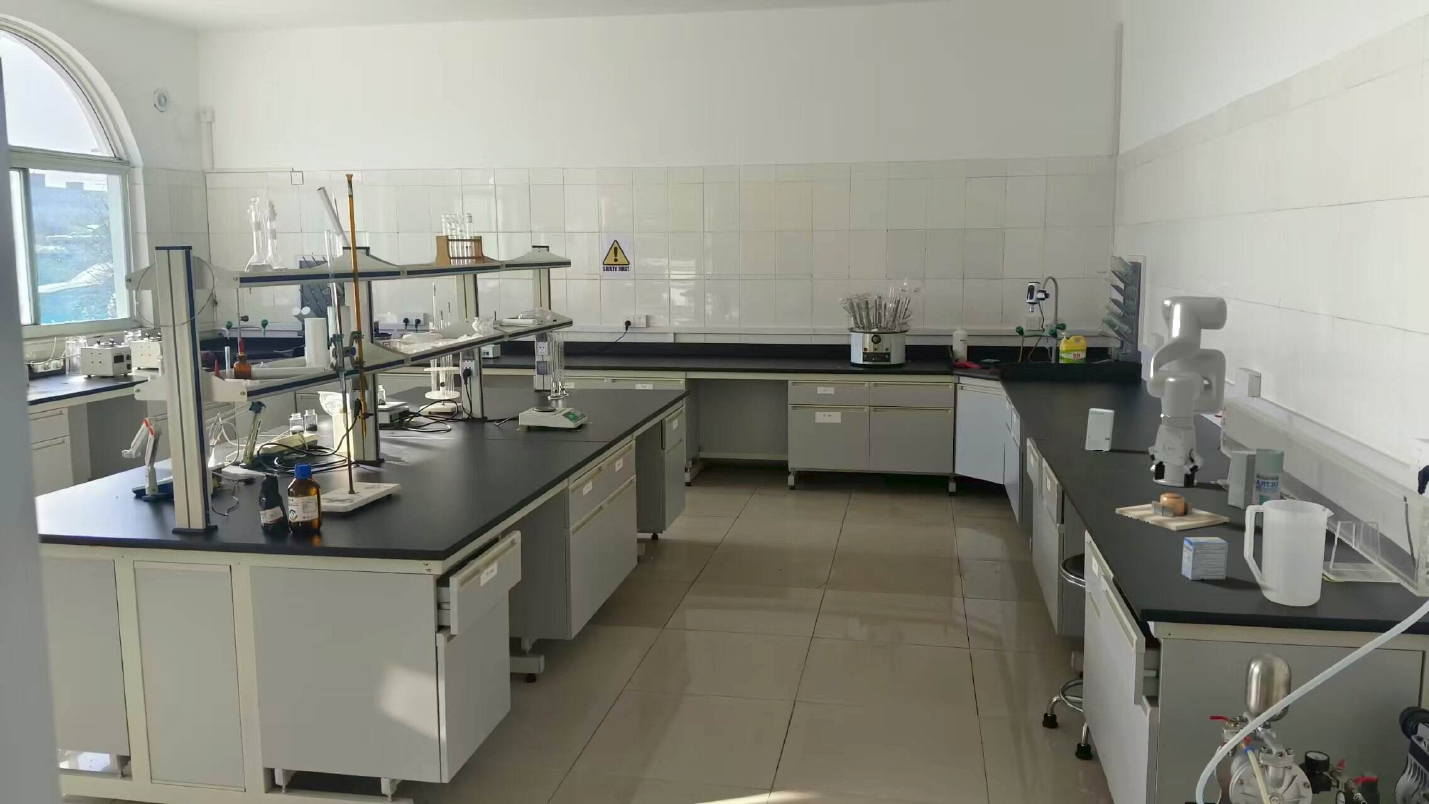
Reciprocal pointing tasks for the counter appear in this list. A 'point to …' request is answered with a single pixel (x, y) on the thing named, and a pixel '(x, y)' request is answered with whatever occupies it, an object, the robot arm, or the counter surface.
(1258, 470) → the spray paint can
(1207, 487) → the counter surface
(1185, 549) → the medicine box
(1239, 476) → the skincare box
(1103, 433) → the skincare box
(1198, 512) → the barrel mount
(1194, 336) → the robot arm
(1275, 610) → the counter surface
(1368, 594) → the counter surface
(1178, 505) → the tan round jar
